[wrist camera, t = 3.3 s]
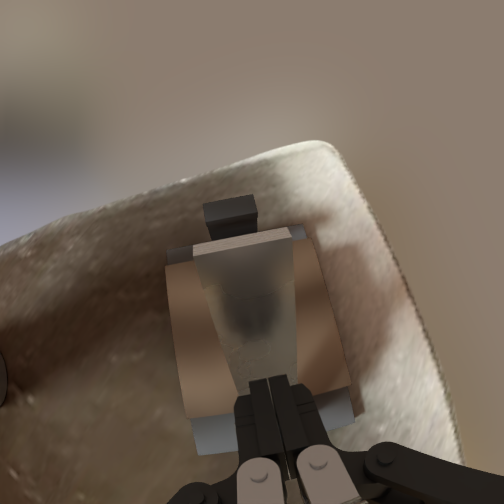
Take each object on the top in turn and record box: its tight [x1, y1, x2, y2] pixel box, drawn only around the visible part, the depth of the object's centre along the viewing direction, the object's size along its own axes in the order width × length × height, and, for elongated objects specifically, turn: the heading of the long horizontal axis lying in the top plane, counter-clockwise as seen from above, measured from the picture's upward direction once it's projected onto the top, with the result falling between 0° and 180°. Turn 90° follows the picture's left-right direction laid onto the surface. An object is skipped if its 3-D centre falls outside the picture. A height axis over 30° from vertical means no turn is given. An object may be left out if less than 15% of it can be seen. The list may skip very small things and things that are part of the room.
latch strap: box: [193, 227, 298, 403], centre depth 14 cm, size 16×3×1 cm
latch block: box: [165, 194, 355, 455], centre depth 24 cm, size 20×14×9 cm
